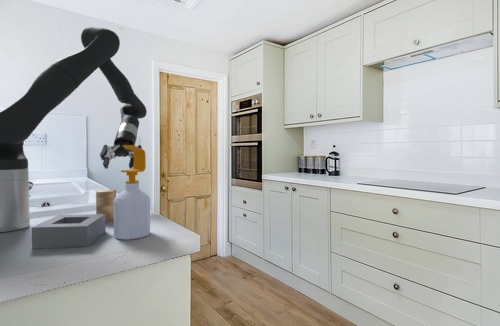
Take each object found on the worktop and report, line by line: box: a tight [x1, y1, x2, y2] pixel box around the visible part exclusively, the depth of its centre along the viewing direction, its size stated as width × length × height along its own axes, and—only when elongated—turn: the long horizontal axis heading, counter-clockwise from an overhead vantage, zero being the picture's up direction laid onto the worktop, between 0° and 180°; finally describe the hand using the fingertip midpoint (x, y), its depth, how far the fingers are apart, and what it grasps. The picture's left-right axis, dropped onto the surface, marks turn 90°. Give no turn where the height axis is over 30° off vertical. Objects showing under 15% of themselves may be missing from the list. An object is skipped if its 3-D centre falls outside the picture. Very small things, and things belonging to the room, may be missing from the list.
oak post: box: [95, 189, 117, 223], centre depth 90 cm, size 5×5×10 cm
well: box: [31, 213, 106, 250], centre depth 72 cm, size 12×12×5 cm
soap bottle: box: [113, 145, 151, 241], centre depth 75 cm, size 9×9×25 cm
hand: (118, 167), depth 102 cm, fingers open, 8 cm apart
